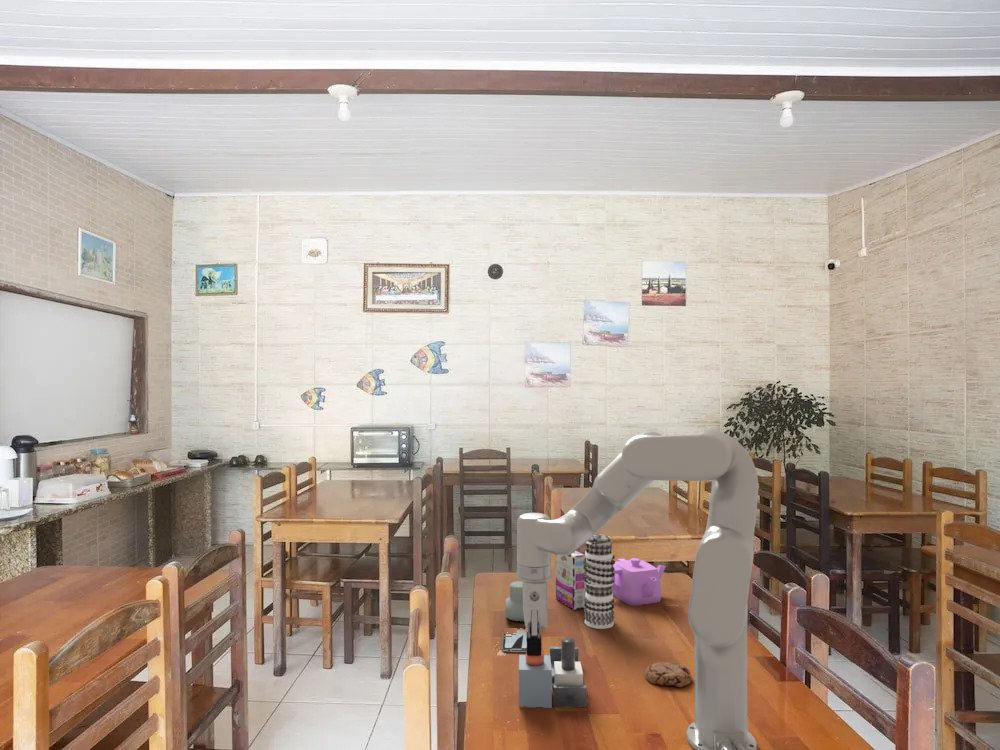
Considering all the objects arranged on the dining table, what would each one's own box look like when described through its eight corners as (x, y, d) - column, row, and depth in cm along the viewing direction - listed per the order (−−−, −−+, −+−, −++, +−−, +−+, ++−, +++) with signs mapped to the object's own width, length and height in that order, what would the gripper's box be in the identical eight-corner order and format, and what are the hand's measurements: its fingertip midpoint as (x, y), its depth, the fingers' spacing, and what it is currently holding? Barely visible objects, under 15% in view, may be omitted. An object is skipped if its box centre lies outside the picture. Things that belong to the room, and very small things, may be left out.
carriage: (585, 695, 130) (585, 646, 130) (552, 694, 131) (552, 646, 131) (583, 681, 136) (582, 635, 136) (551, 681, 137) (551, 634, 137)
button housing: (551, 707, 128) (551, 670, 128) (519, 707, 128) (518, 669, 128) (550, 690, 135) (550, 655, 135) (519, 690, 135) (519, 654, 135)
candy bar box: (587, 608, 184) (587, 554, 184) (573, 611, 182) (573, 556, 182) (568, 596, 194) (568, 545, 194) (555, 599, 192) (554, 547, 192)
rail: (586, 707, 128) (586, 688, 128) (553, 706, 128) (553, 687, 128) (578, 663, 148) (577, 646, 148) (549, 662, 148) (549, 646, 148)
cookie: (637, 673, 143) (637, 661, 143) (674, 666, 147) (674, 654, 147) (661, 694, 134) (661, 680, 134) (700, 685, 137) (700, 672, 137)
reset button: (544, 684, 129) (544, 658, 129) (525, 683, 129) (525, 658, 130) (543, 674, 133) (543, 650, 133) (525, 674, 133) (525, 649, 134)
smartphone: (529, 627, 169) (530, 649, 154) (529, 630, 169) (530, 653, 154) (503, 627, 169) (501, 649, 154) (503, 630, 169) (501, 653, 154)
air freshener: (534, 625, 171) (534, 590, 171) (505, 625, 171) (505, 590, 171) (533, 611, 182) (533, 578, 182) (506, 611, 182) (506, 578, 182)
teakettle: (617, 585, 205) (616, 549, 205) (667, 593, 197) (667, 555, 197) (602, 602, 189) (602, 562, 189) (656, 610, 182) (656, 570, 182)
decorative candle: (622, 626, 170) (621, 538, 170) (593, 631, 167) (593, 541, 167) (604, 614, 179) (604, 531, 179) (577, 619, 175) (577, 534, 175)
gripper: (552, 582, 124) (552, 671, 124) (549, 560, 139) (549, 639, 139) (516, 581, 124) (516, 670, 124) (517, 560, 139) (517, 639, 139)
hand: (534, 653), depth 132 cm, fingers closed
